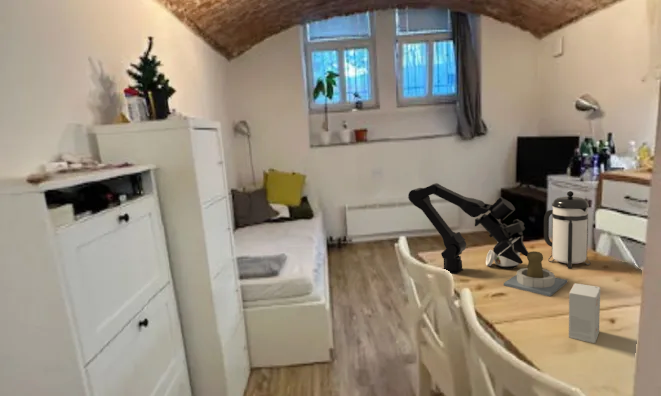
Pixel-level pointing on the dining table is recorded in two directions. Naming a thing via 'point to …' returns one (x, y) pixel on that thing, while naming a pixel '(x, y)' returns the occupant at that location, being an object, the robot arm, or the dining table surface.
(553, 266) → the dining table surface
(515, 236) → the robot arm
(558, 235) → the coffee press
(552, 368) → the dining table surface
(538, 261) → the cork
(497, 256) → the spread jar
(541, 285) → the mount
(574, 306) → the small box
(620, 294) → the dining table surface
